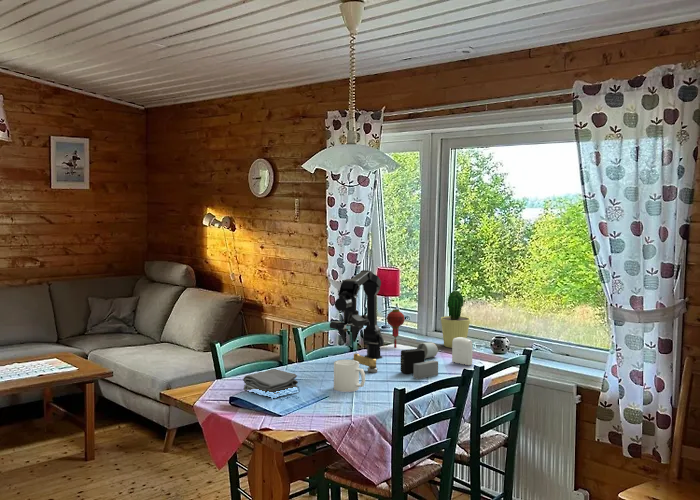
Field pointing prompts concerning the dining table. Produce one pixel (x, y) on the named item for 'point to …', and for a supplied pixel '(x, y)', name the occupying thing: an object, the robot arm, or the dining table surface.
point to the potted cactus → (454, 320)
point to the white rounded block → (462, 351)
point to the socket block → (425, 369)
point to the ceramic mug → (428, 349)
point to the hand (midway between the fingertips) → (349, 342)
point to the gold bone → (365, 360)
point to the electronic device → (411, 359)
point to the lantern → (395, 322)
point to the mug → (347, 376)
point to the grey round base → (372, 370)
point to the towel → (270, 381)
